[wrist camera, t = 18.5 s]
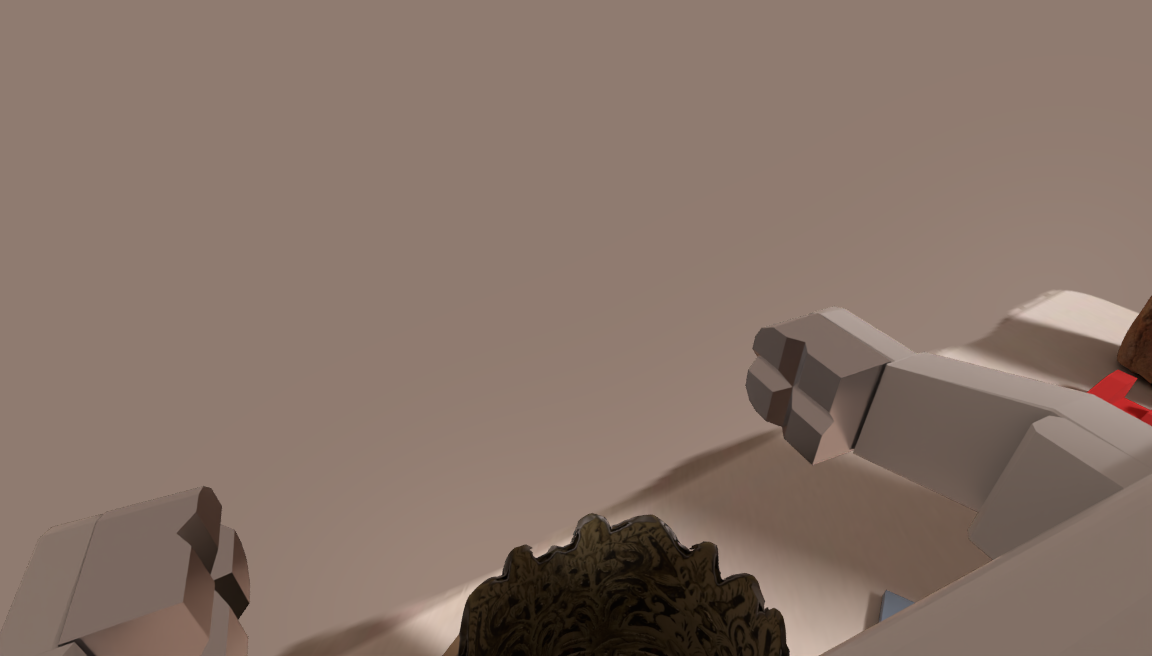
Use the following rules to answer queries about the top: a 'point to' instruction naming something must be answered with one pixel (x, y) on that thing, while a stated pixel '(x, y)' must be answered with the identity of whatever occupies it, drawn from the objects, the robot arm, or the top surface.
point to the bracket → (1121, 395)
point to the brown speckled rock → (1139, 344)
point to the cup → (620, 600)
